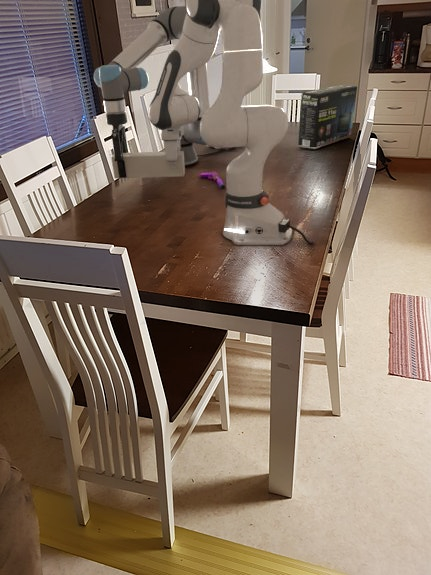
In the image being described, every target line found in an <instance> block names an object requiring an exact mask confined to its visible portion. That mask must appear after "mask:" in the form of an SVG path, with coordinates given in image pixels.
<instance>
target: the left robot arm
mask: <svg viewBox="0 0 431 575" xmlns="http://www.w3.org/2000/svg"><path fill="white" fill-rule="evenodd" d="M186 13H187V12H186V8H185V5H181V6H180V5H179V6H177V5H175V6H171V7H168V8H167V9H165V10H163V11H162V12H160V13H159V14H158V15H156V17H154V18H153V19H152V20H151V21H149V22H148V23H147V28H146V29H145V30H144V31H143V32H142V33H141V34H140V35H138V36H137V37H136V38H135V39H134V40H133V41H132V42H131V43H130V44H129V45H127V47H125V48H124V49H123V51H121V52H120V53H119V54H118V55H117V56H116V57H115V58H113V60H111V61H110V62H109V63H108V64H104V65H101V66H100V67H99V66H98V67H97V68H96V69H95V70H94V72H93V80H94V83H95V84H96V86H97V87H98V88H100V89H101V95H102V100H103V103H102V104H101V105H102V106H104V112H105V122H106V124H107V125H108V126H112V129H111V133H110V136H111V140H112V141H111V142H112V145H113V146H112V148H113V154H114V155H115V161H117V165H118V172H119V178H118V179H127V178H126V177H127V176H126V168H125V161H124V159H123V153H129V149H128V148H129V147H128V142H127V134H126V126H125V125H126V124H127V123H128V117H127V116H128V115H127V112H126V111H127V107H126V99H125V93H129V92H130V93H131V92H135V91H141V90H144V89H146V88H147V87H148V85H149V75H148V72H147V71H146V69H144V68H143V67H138V66H139V65H141V64H142V63H143V62H144V61H145V60H146V59H147V58H149V57H150V55H151V54H152V53H154V52H155V50H157V48H159V47H160V46H165V45H166V44H167V43H168V42H170V41H173V40H179V39H180V37H181V34H182V30H183V25H184V21H185V17H186ZM207 65H208V64H207V63H206V64H204V65H203V66H201V67H198V68H196V69H194V70H192V71H190V72H189V73H187V74H186V77H187V87H188V88H187V89H188V94H189V95H193V96H194V97H195V98H196V99H197V100H198V102H199V104H200V115H199V118H198V120H197V121H196V122H193V123H190V124H185V125H184V135H183V136H181V149H180V151H184V164H185V167H190V166H193V165H194V166H195V165H196V164H197V163H199V161H198V158H199V157H205V156H210V155H213V154H217V153H219V152H222V151H223V150H225V149H224V148H222V149H218V150H216V151H213V152H209V153H202V154H197V152H196V150H195V146H194V144H196V145H200V146H207V144H206V143H205V142H204V141H203V139H202V137H201V134H200V121H201V119H202V117H203V115H204V114H205V112H206V111H208V110H209V109H210V108H211V104H210V103H211V102H210V90H209V79H208V66H207Z"/></svg>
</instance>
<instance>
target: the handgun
mask: <svg viewBox="0 0 431 575" xmlns="http://www.w3.org/2000/svg"><path fill="white" fill-rule="evenodd" d="M199 178H200V179H202V178H208V179H209V180H213V181H214V182H215V183H217V184H218V186H219V188H220V189H221V190H225V189H226V186H225V183H224V182H223V180H222V179H221V178H220V177H219V175H218V172H216V171H211V172H201V173H200V172H199Z"/></svg>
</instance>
